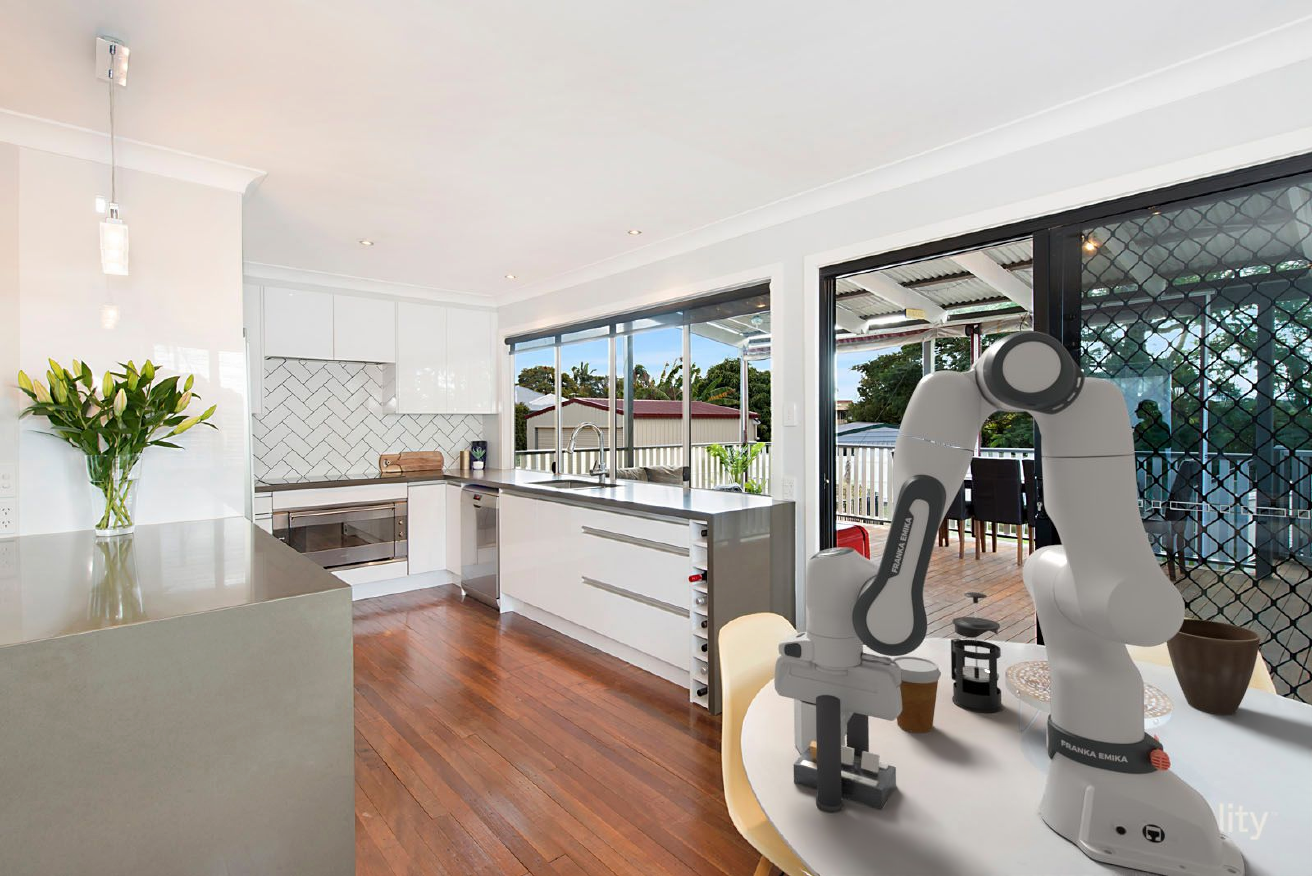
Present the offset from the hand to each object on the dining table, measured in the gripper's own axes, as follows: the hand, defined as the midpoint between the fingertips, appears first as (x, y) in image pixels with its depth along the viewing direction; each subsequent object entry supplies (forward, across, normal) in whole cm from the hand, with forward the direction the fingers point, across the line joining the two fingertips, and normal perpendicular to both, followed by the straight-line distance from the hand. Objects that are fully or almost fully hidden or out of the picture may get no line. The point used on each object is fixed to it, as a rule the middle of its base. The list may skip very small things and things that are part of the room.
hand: (836, 733), depth 103 cm
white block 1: (+5, -1, 0) cm, 5 cm away
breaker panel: (+8, -1, 0) cm, 8 cm away
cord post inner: (+8, -1, -7) cm, 10 cm away
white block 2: (+5, -5, 0) cm, 7 cm away
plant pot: (+9, -53, -69) cm, 88 cm away
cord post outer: (+8, -1, +7) cm, 11 cm away
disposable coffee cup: (+8, -6, -28) cm, 30 cm away
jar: (+8, +6, -9) cm, 14 cm away
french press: (+8, -14, -46) cm, 49 cm away
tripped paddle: (+5, +3, 0) cm, 6 cm away
